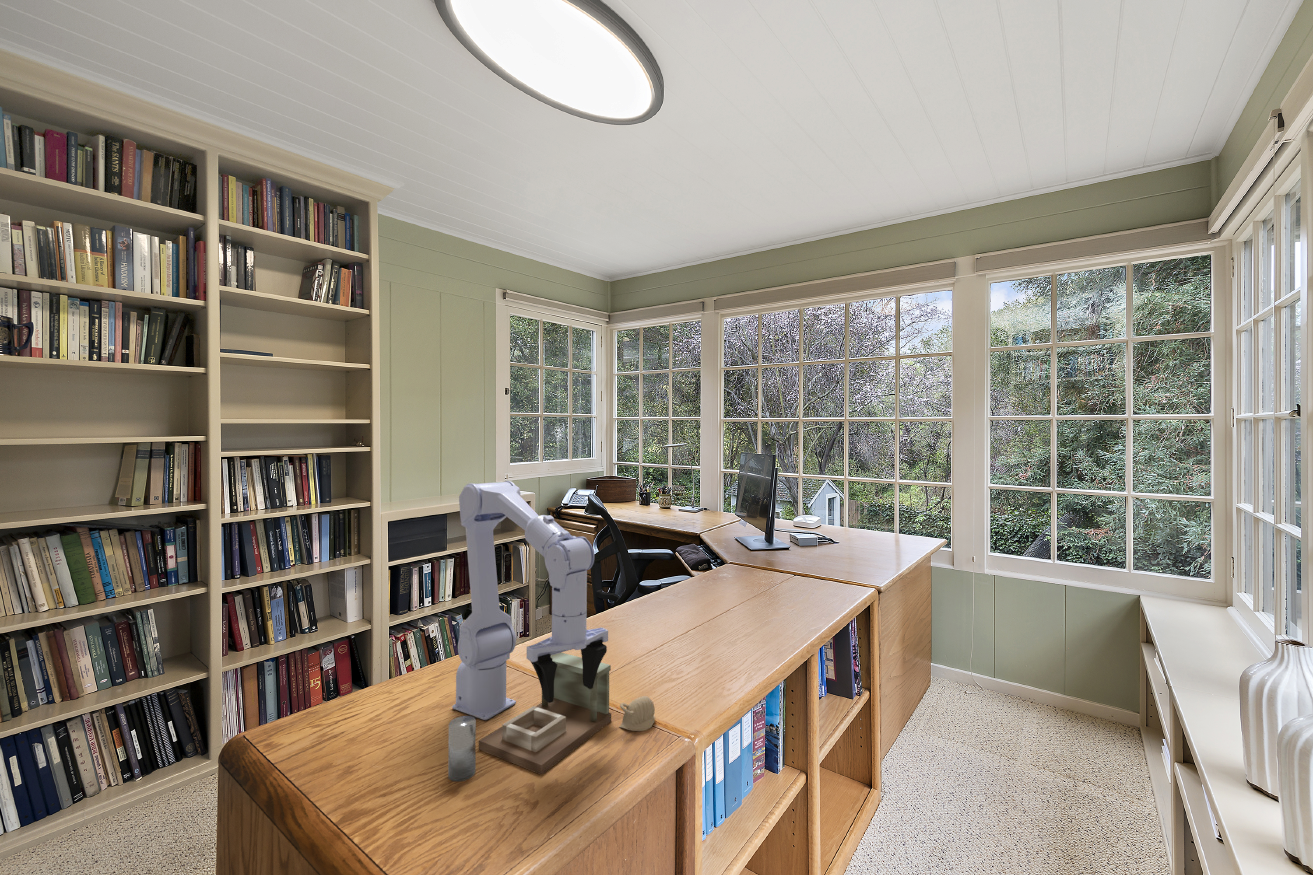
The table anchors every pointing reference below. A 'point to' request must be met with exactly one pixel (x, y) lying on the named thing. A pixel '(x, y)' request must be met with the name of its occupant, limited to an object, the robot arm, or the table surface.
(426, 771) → the table surface
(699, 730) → the table surface
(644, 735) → the table surface
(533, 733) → the socket stand
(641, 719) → the decorative ornament
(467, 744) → the steel peg
